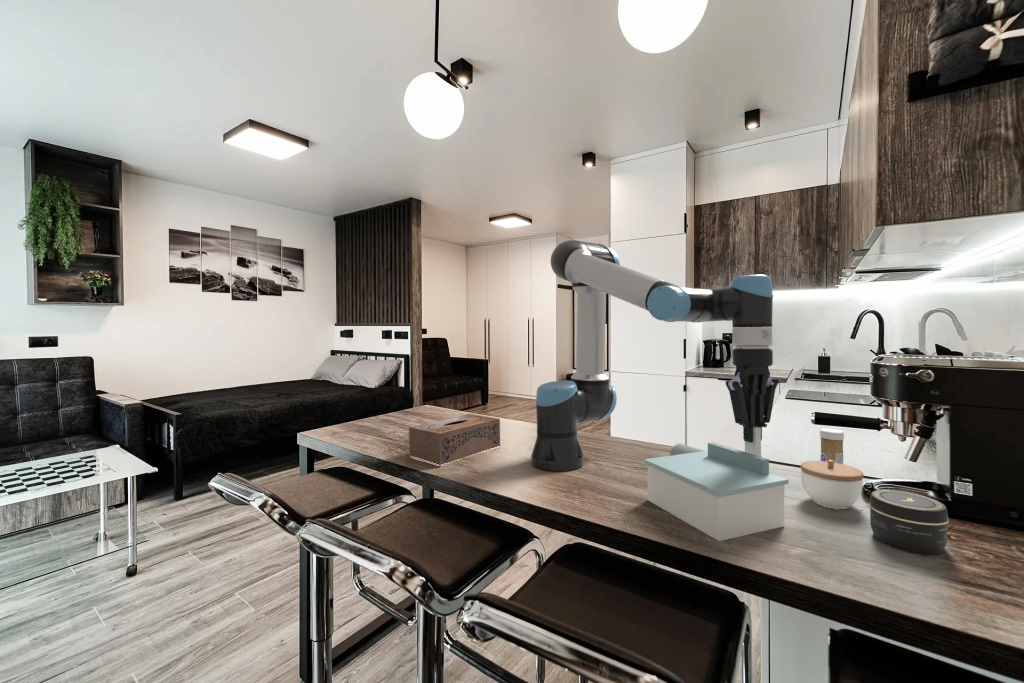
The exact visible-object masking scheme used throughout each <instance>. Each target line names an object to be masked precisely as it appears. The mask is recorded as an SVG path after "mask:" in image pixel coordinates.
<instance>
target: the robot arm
mask: <svg viewBox="0 0 1024 683" xmlns="http://www.w3.org/2000/svg"><path fill="white" fill-rule="evenodd" d="M620 264H621V263H620V259H619V256H618V254H617V252H616V251H615V250H614V249H613V248H611V247H609V246H608V245H605V244H602V243H594V242H586V241H581V240H580V241H579V240H575V239H569V240H565V241H563V242H560V243H559V244H558V245H557V246H555V248H554V249H553V251H552V252H551V255H550V267H551V270H552V272H553V273H554V274H555V275H556V276H557V277H558V278H560V279H562V280H565V281H567V282H570V283H572V290H573V291H574V292H575V293H576V295H577V300H576V302H577V303H576V304H577V305H576V306H577V307H576V308H577V310H576V351H575V352H576V353H575V354H576V360H575V361H576V362H575V372H574V373H573V374H572V375H571V376H570V380H567V379H566V380H565V379H564V380H556V381H555V380H554V381H549V382H545V383H542V384H540V385H539V386H538V387H537V390H536V398H535V405H536V439H535V442H534V446H533V449H532V451H531V455H530V456H531V457H530V458H531V461H530V462H531V465H532V466H533V465H534V466H533V467H535V468H537V469H540V470H544V471H551V472H552V471H553V472H567V471H574V470H577V469H580V468H582V467H583V466H584V465H583V464H585V463H584V462H585V461H584V460H585V458H584V454H583V451H582V447H581V445H580V442H579V438H578V424H582V423H587V422H596V421H600V420H602V419H605V418H607V417H609V416H610V415H611V414H612V413H613V412H614V410H615V408H616V405H617V398H618V397H617V392H616V390H615V389H614V386H613V385H612V384H611V383H610V377H609V376H608V375H607V374H606V372H605V359H606V358H605V354H606V352H605V349H606V345H605V344H606V320H607V319H606V315H607V314H606V313H607V311H606V310H607V308H606V307H607V306H606V305H607V295H610V296H612V297H615V298H617V299H619V300H622V301H624V302H626V303H629V304H631V305H634V306H636V307H638V308H641V309H643V310H645V311H648V312H649V313H650V315H651V316H652V317H653V318H654V319H656V320H657V321H664V322H665V323H666V322H667V323H673V322H687V323H705V322H724V321H726V322H730V321H731V322H732V330H731V331H732V332H731V333H732V335H731V336H732V338H731V340H732V341H731V342H732V343H731V344H732V346H733V347H735V348H733V349H732V364H733V366H735V370H734V377H733V378H732V379H731V380H729V379H728V380H726V381H725V386H726V388H727V390H728V392H729V396H730V401H731V402H730V403H731V407H732V413H733V418H734V422H735V423H736V424H738V425H740V426H742V429H743V435H742V436H743V437H742V438H743V441H744V452H747V453H750V454H753V455H757V456H760V457H762V441H763V440H762V439H763V428H767V427H768V424H769V423H770V422H771V418H772V417H771V416H772V411H773V406H774V399H775V393H776V389H777V387H778V385H779V383H780V380H779V379H778V378H773V377H772V376H771V372H770V369H769V367H772V366H773V364H774V358H773V357H774V356H773V355H774V353H773V352H774V350H773V349H772V348H770V347H772V346H773V305H774V302H773V300H774V299H773V298H774V294H773V285H772V284H773V283H772V278H771V277H770V276H769V275H766V274H748V275H740V276H735V277H733V278H732V279H731V280H732V281H731V286H728V287H720V288H706V289H705V288H698V287H688V286H687V287H686V286H682V285H681V286H680V285H677V284H674V283H671V282H668V281H665V280H663V279H659V278H657V277H654V276H651V275H649V274H646V273H642V272H640V271H637V270H634V269H632V268H628V267H625V266H623V265H620ZM582 465H583V466H582ZM581 466H582V467H581Z"/></svg>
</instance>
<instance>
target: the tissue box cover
mask: <svg viewBox="0 0 1024 683" xmlns="http://www.w3.org/2000/svg"><path fill="white" fill-rule="evenodd" d="M408 439H409V440H408V442H409V443H408V445H409V446H408V447H409V448H408V449H409V452H408V453H409V456H410V455H411V456H414V457H418V458H421V459H424V460H427V461H430V462H433V463H436V464H439V465H441V464H444V463H448V462H451V461H454V460H457V459H460V458H463V457H466V456H469V455H472V454H475V453H478V452H481V451H484V450H487V449H490V448H494V447H497V446H500V447H501V419H500V418H499V417H491V416H487V415H486V416H484V415H480V414H479V415H477V414H471V413H468V414H463V415H458V416H454V417H449V418H444V419H439V420H435V421H431V422H427V423H421V424H418V425H417V424H416V425H412V426H409V427H408Z"/></svg>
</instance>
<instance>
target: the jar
mask: <svg viewBox="0 0 1024 683" xmlns="http://www.w3.org/2000/svg"><path fill="white" fill-rule="evenodd" d="M869 508H870V509H869V514H870V517H869V519H870V523H869V524H870V528H871V531H872V533H873V535H874V537H875V538H876V539H877V540H878V541H880V543H883V544H885V545H887V546H889V545H890V546H889V547H890V548H894V549H896V548H897V550H899V549H900V551H903V550H904V552H906V551H908V552H907V553H911V554H916V553H917V555H922V554H926V555H925V556H935V555H934V554H936V555H940V554H941V553H943V552H945V548H947V547H946V546H947V545H948V524H949V520H950V519H949V517H948V515H949V514H948V513H949V512H948V508H947V506H946V505H945V504H944V503H942V502H941V501H938V500H936V499H935V498H932V497H928V496H925V495H922V494H917V493H914V492H910V491H904V490H903V491H902V490H895V489H878V490H873V491H872V492H870V496H869ZM939 553H940V554H939Z"/></svg>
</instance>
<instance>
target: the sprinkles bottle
mask: <svg viewBox="0 0 1024 683" xmlns="http://www.w3.org/2000/svg"><path fill="white" fill-rule="evenodd" d="M819 437H820V460H819V461H827V462H828V460H833V461H834V463H840V464H844V440H845V433H844V431H843V430H841V429H835V428H826V427H825V428H821V429H820V430H819Z"/></svg>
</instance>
